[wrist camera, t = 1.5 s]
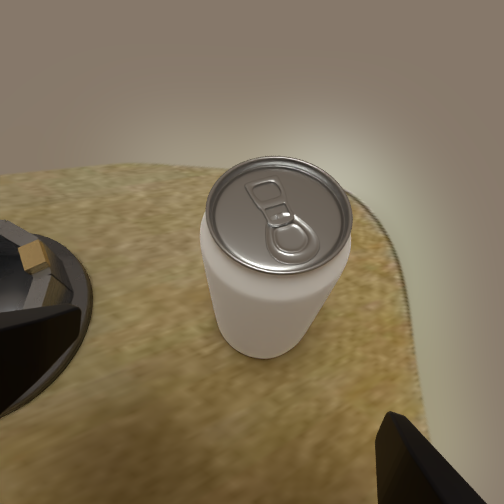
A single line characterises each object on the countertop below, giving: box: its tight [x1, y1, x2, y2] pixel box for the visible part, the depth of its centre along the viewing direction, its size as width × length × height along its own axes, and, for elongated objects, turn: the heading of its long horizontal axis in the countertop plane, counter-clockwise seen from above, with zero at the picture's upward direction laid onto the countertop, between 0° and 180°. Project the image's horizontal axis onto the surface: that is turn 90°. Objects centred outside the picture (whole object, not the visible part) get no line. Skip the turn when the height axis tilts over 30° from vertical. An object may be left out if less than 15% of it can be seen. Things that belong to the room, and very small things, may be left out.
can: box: [200, 156, 353, 359], centre depth 17 cm, size 6×6×12 cm
